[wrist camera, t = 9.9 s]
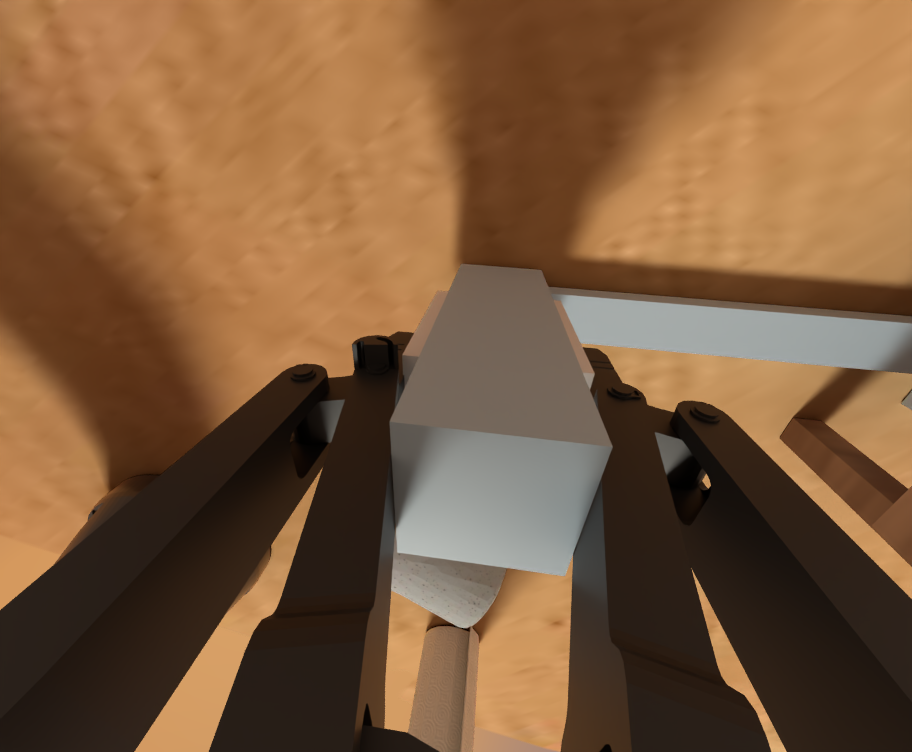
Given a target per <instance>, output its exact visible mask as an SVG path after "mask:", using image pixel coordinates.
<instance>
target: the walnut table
mask: <svg viewBox="0 0 912 752" xmlns="http://www.w3.org/2000/svg"><path fill="white" fill-rule="evenodd" d="M780 439H781V440H782V441H783V442H784V443H785V444H786V445H787V446H788V447H789V448H790V449H791V450H792V451H793V452H794V453H795V454H796V455H797V456H798V457H799V458H800V459H801V460H803V461H804V462H805V463H806V464H807V465H808V466H809V467H810V468H811V469H812V470H813V471H814V472H815V473H816V474H817V475H818V476H819V477H820V478H821V479H822V480H823V481H824V482H825V483H826V484H827V485H828V486H829V487H830V488H831V489H832V490H833V491H834V492H835V493H836V494H838V495H839V496H840V497H841V498H842V499H843V500H844V501H845V502H846V503H847V504H848V505H849V506H850V507H851V508H852V509H853V510H854V511H855V512H856V513H857V514H858V515H859V516H860V517H861V518H862V519H863V520H864V521H865V522H866V523H867V524H868V525H869V526H870V527H871V528H872V529H874V530H875V531H876V532H877V533H878V534H879V535H880V536H881V537H882V538H883V539H884V540H885V541H886V542H887V543H888V544H889V545H890V546H891V547H892V548H893V549H894V550H895V551H896V552H897V553H898V554H899V555H900V556H901V557H902V558H903V559H904V560H905V561H906V562H907V563H908V564H910V565H911V566H912V486H911V487H910V488H909V489H907V488H906V487H905V486H904V485H902V484H901V483H900V482H899V481H897V480H896V479H895V478H894V477H892V476H891V475H890V474H888V473H887V472H886V471H885V470H883V469H882V468H881V467H880V466H878V465H877V464H876V463H874V462H873V461H872V460H871V459H869V458H868V457H867V456H866V455H864V454H863V453H862V452H861V451H859V450H858V449H857V448H855V447H854V446H853V445H852V444H850V443H849V442H848V441H847V440H845V439H844V438H843V437H841V436H840V435H839V434H838V433H836V432H835V431H834V430H833V429H831V428H830V427H829V426H828V425H826V424H825V423H824V422H822V421H819V420H809V419H799V418H793V419H792V420H791V422H790V423H789V425H788V426H787V428H786V429H785V431H784V432H783V434H782V435H781V437H780Z"/></svg>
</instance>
